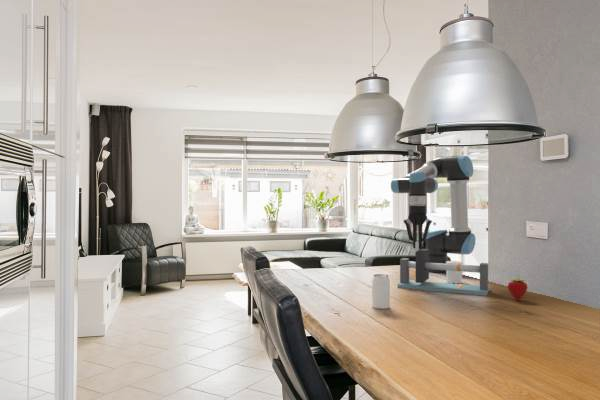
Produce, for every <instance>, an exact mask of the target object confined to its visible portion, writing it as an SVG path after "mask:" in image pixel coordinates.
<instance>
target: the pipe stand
mask: <svg viewBox="0 0 600 400" xmlns="http://www.w3.org/2000/svg"><path fill="white" fill-rule="evenodd" d="M410 269H416V261H412V260H411V261H410V258H409V257H408V258H407V257H403V258H400V259H399V274H400V275H399V283H398V284H397V288H399V289H409V290H420V291H429V290H430V292H431V291H432V292H440V291H442V293H443V292H444V293H451V292H452V293H453V294H454V293H455V294H463V295H465V294H466V295H474V296H487V295H488V293H489V291H490V286H489V263H487V262H481V263H479V265H473V264H463V265H461V264H444V263H428V262H425V269H434V270H449V271H462V273H463V272H466V273H479V285H475V284H474V285H473V284H465V283H459V284H453V283H448V282H438V281H427V280H426V281H425V282H423V283H416V279H415V280H414V279H413V280H412V279H410Z"/></svg>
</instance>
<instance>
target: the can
mask: <svg viewBox="0 0 600 400" xmlns="http://www.w3.org/2000/svg"><path fill="white" fill-rule="evenodd" d="M371 282H372V283H371V289H372V290H371V297H372V298H371V301H372V302H371V305H372V308H373V309H377V310H388V309H389V308H390V305H391V301H390V300H391V296H390V295H391V292H390V291H391V290H390V287H391V285H390V277H389V274H383V273H382V274H381V273H379V274H377V273H376V274H373V277H372V280H371Z"/></svg>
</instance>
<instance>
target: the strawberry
mask: <svg viewBox="0 0 600 400" xmlns="http://www.w3.org/2000/svg"><path fill="white" fill-rule="evenodd" d="M517 277H519V275H518V274H517ZM525 281H526V280H525V279H519V278H518V279H517V278H515V279H511V281H510V282H509V283H507V289H508V291H509V293H510V294H511V295H512V296H513V298H514V299H515V300H517V301H520V300H521V299H522V298H523V296H524V295H525V294H526V292H527V290H528V284H527V283H526V282H525Z"/></svg>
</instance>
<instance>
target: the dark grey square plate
mask: <svg viewBox="0 0 600 400" xmlns="http://www.w3.org/2000/svg"><path fill="white" fill-rule="evenodd" d="M415 262H416V268H415V280H416V283H423V282H425V281H427V280H429V278H430V272H429V269H425V262H428V263H429V249H426V248H422V249H420V250H418V251H416V256H415Z"/></svg>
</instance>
